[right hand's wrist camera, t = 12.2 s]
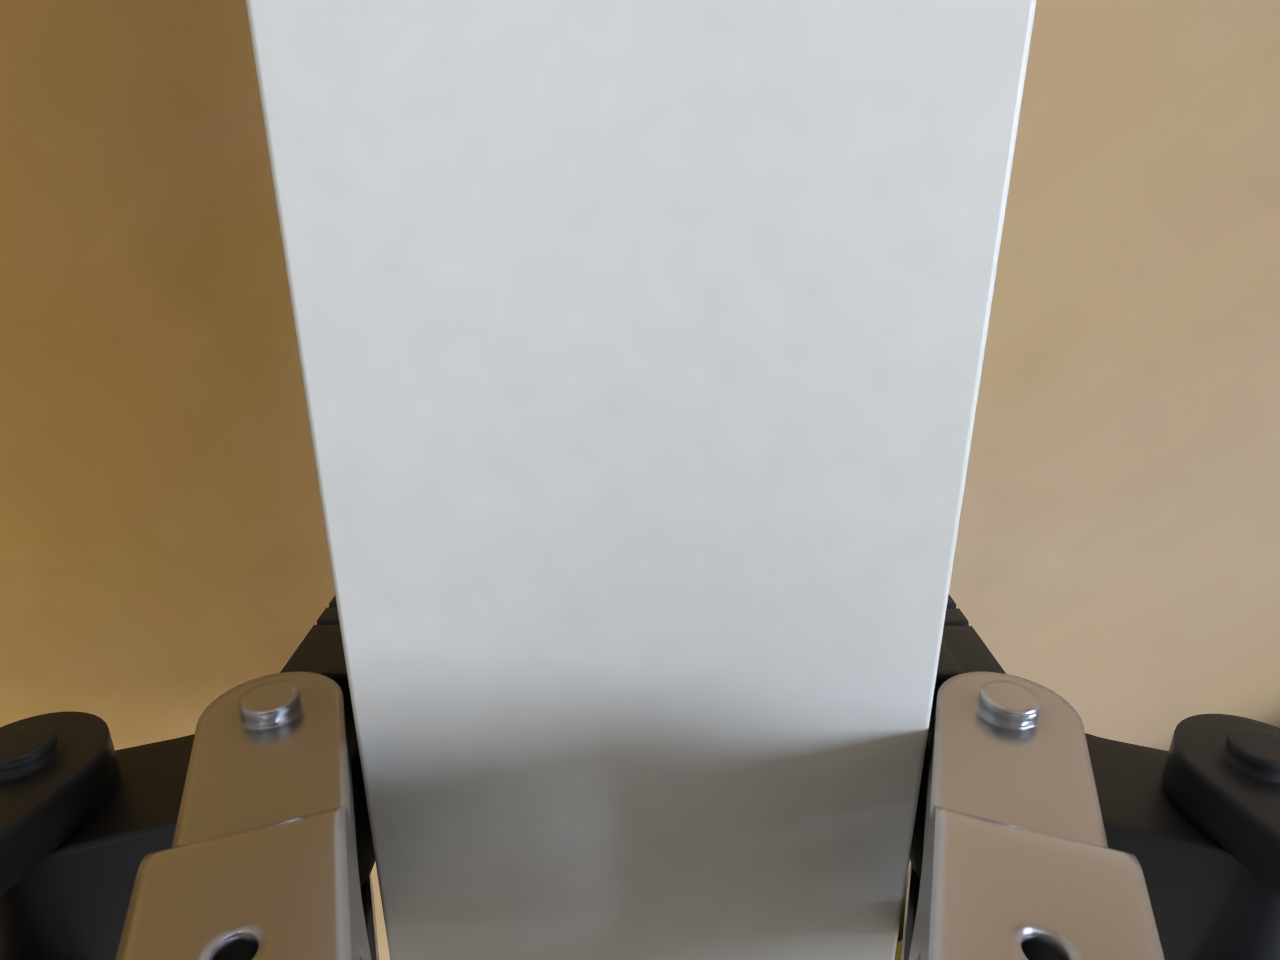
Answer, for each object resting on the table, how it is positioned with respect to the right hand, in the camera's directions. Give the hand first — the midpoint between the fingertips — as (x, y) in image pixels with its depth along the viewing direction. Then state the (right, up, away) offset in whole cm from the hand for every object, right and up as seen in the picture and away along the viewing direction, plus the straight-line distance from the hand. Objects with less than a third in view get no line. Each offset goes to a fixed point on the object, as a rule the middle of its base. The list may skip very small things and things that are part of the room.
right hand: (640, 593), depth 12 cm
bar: (0, +24, -7) cm, 25 cm away
